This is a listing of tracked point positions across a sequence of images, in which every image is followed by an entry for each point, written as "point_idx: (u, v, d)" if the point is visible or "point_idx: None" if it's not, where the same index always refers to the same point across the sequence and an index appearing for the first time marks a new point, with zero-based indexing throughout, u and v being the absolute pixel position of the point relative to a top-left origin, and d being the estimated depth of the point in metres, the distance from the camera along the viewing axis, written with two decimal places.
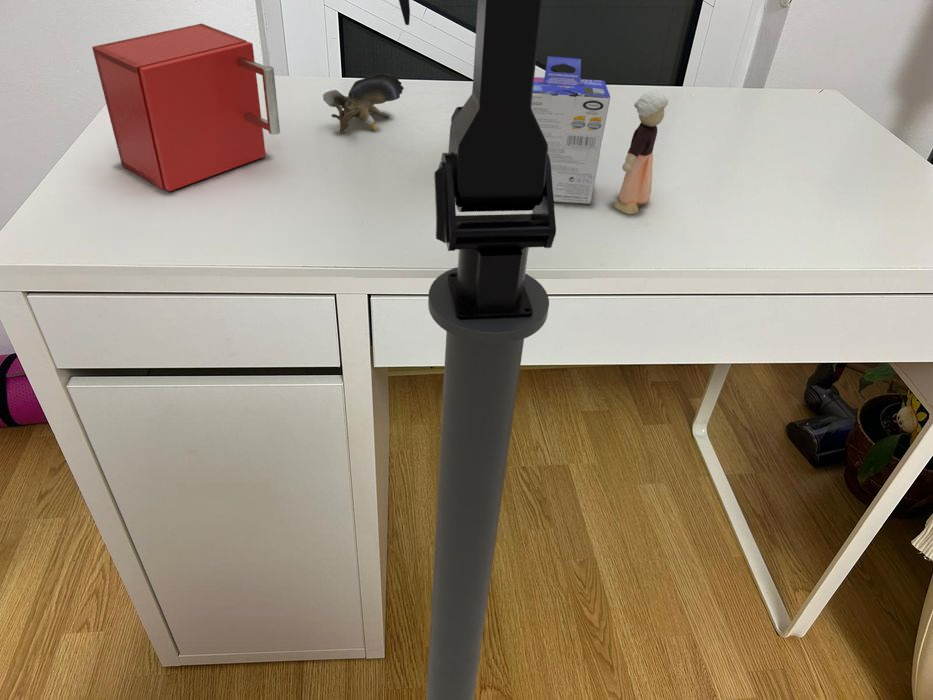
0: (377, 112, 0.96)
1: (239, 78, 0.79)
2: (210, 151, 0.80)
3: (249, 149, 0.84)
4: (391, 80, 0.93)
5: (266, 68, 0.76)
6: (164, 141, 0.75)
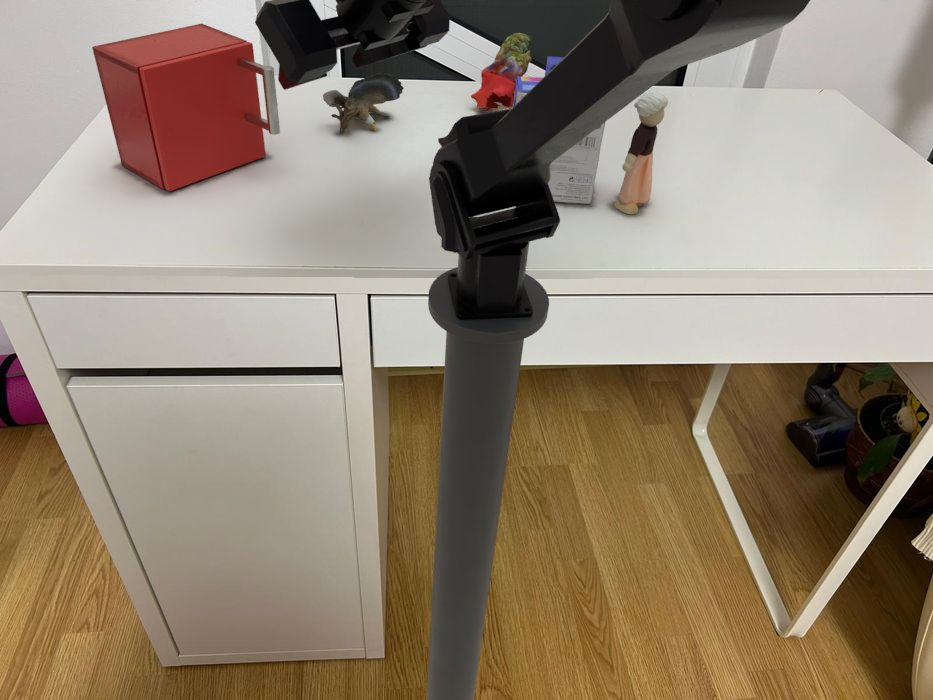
0: (377, 112, 0.96)
1: (239, 78, 0.79)
2: (210, 151, 0.80)
3: (249, 149, 0.84)
4: (391, 80, 0.93)
5: (266, 68, 0.76)
6: (164, 141, 0.75)
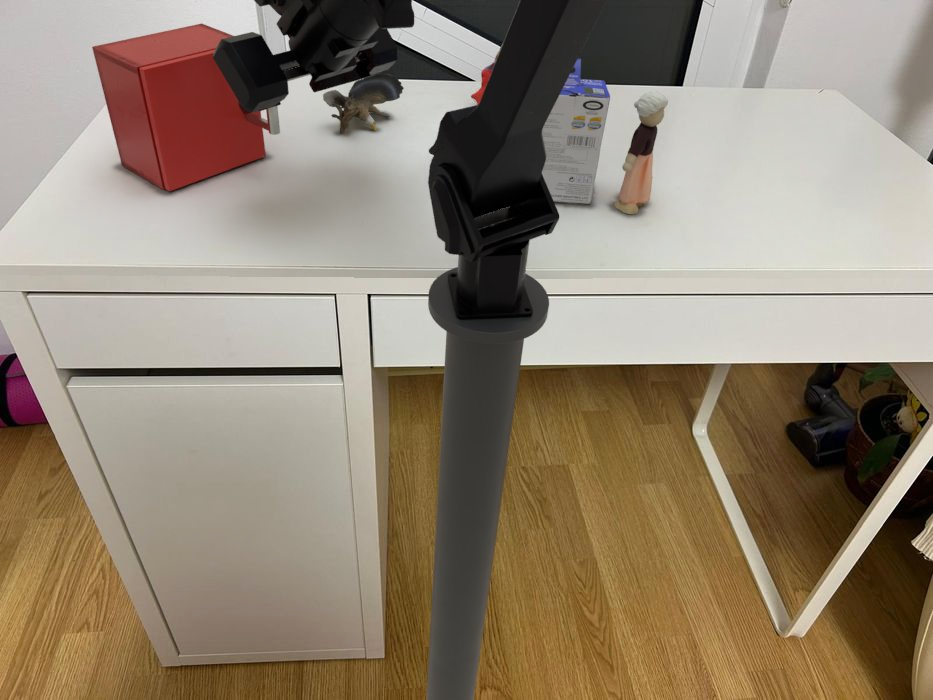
0: (377, 112, 0.96)
1: None
2: (210, 151, 0.80)
3: (249, 149, 0.84)
4: (391, 80, 0.93)
5: None
6: (164, 141, 0.75)
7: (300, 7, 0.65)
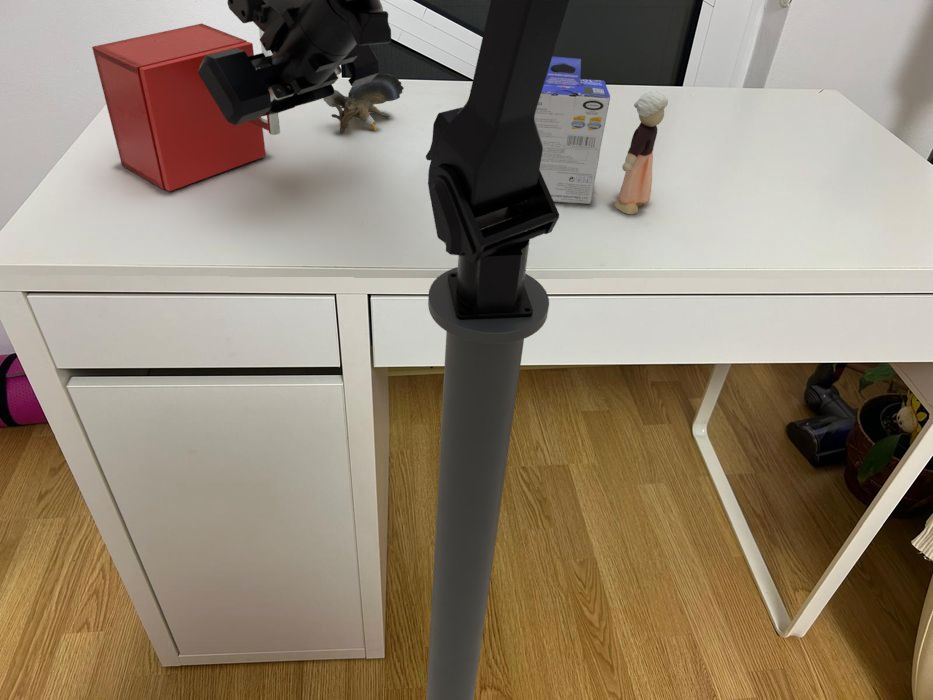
0: (377, 112, 0.96)
1: None
2: (210, 151, 0.80)
3: (249, 149, 0.84)
4: (391, 80, 0.93)
5: None
6: (164, 141, 0.75)
7: (282, 24, 0.68)
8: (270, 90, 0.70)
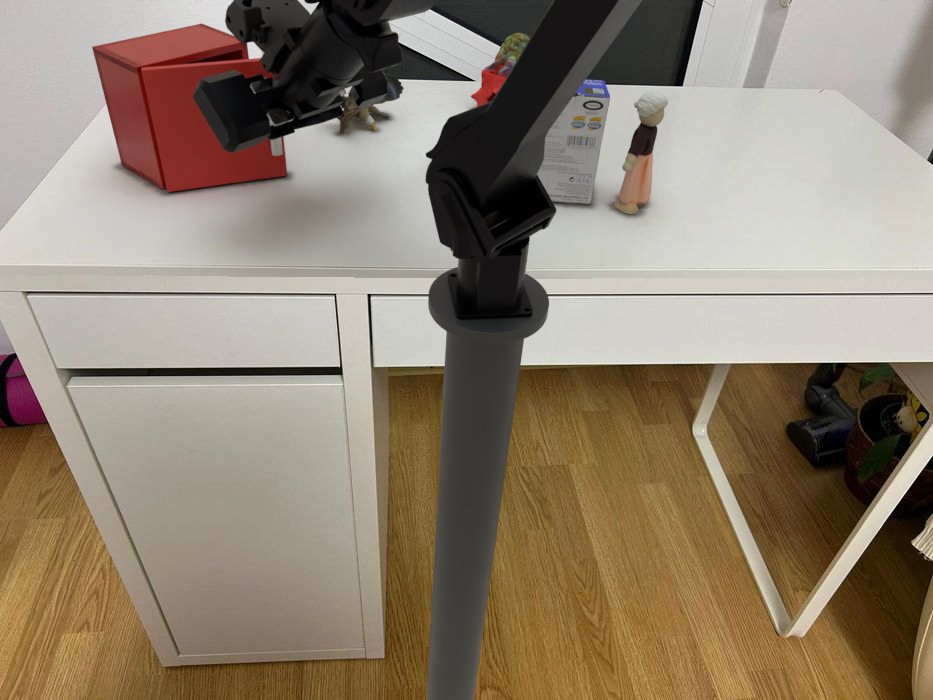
0: (377, 112, 0.96)
1: None
2: (218, 160, 0.79)
3: (266, 165, 0.81)
4: (391, 80, 0.93)
5: None
6: (164, 143, 0.75)
7: (282, 45, 0.63)
8: (267, 115, 0.66)
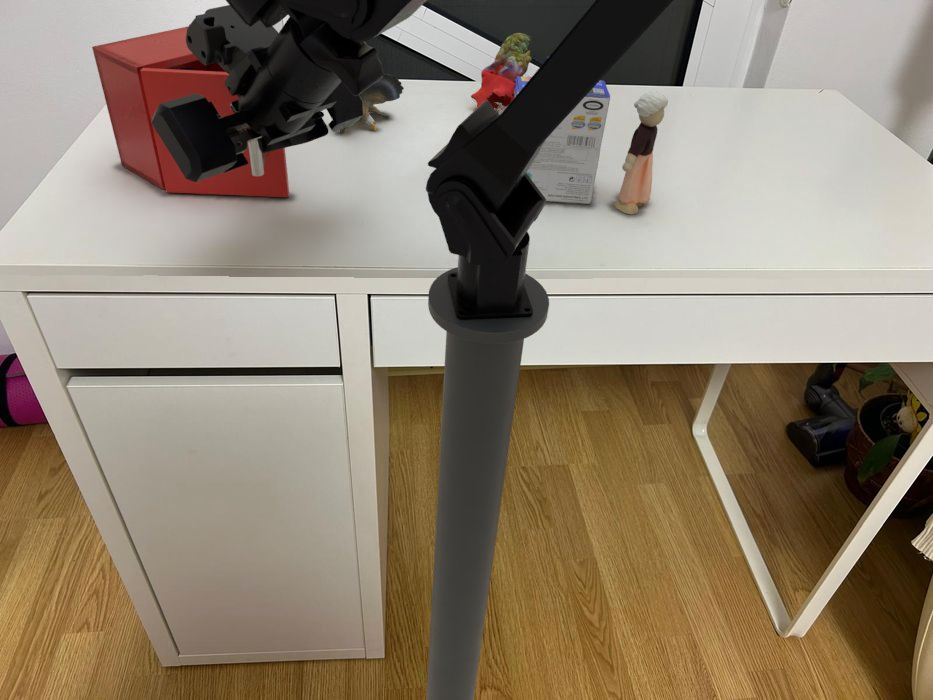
0: (377, 112, 0.96)
1: None
2: None
3: (266, 183, 0.78)
4: (391, 80, 0.93)
5: None
6: (162, 144, 0.75)
7: (248, 66, 0.59)
8: None
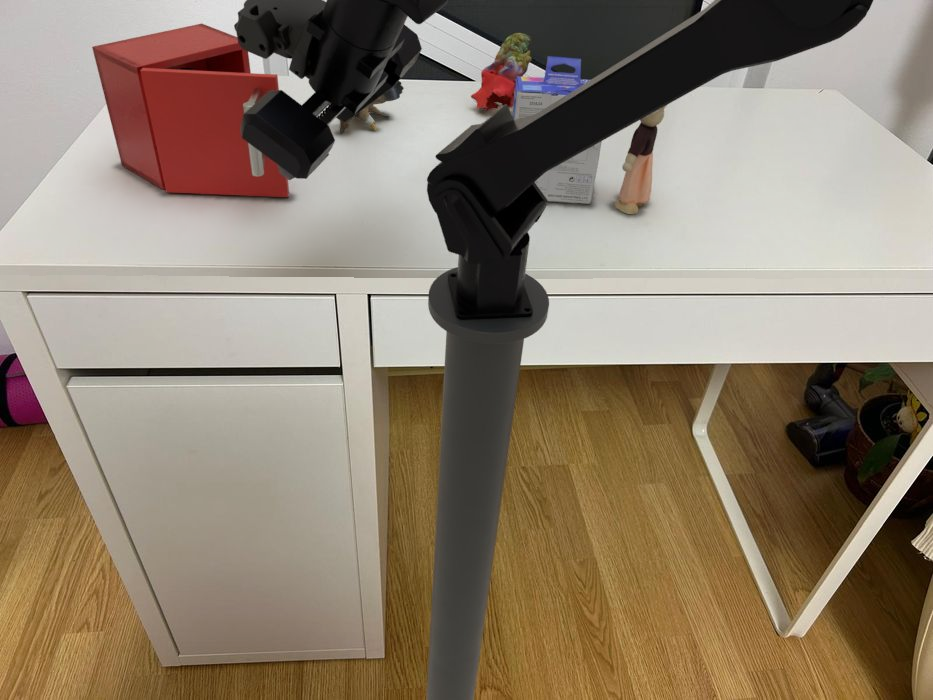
0: (377, 112, 0.96)
1: None
2: (216, 170, 0.77)
3: (266, 183, 0.78)
4: None
5: (246, 104, 0.68)
6: (162, 144, 0.75)
7: (310, 40, 0.55)
8: None
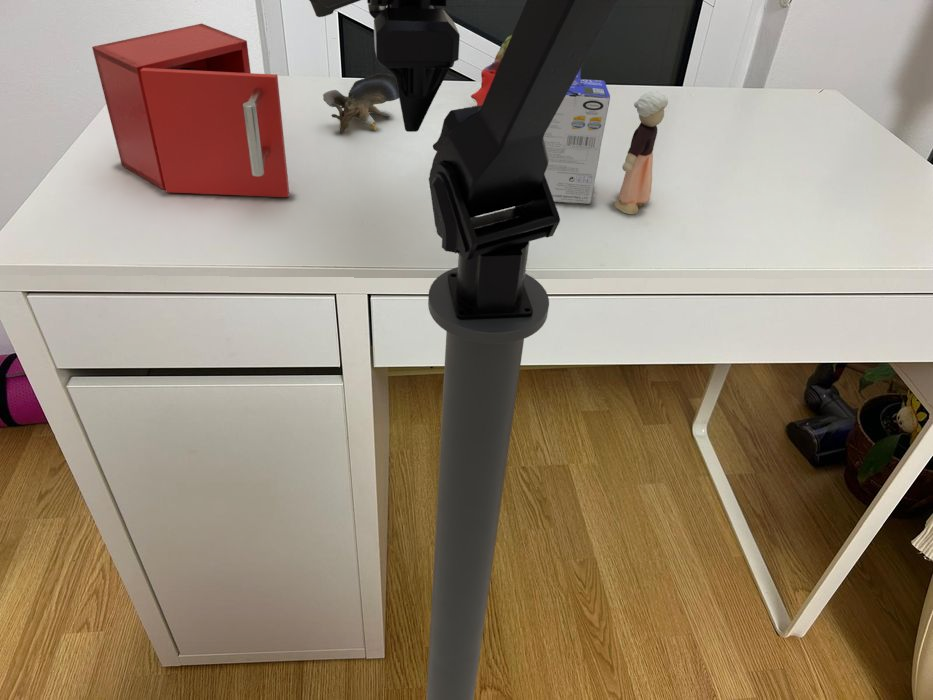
0: (377, 112, 0.96)
1: (257, 109, 0.73)
2: (216, 170, 0.77)
3: (266, 183, 0.78)
4: (391, 80, 0.93)
5: (246, 104, 0.68)
6: (162, 144, 0.75)
7: None
8: None
